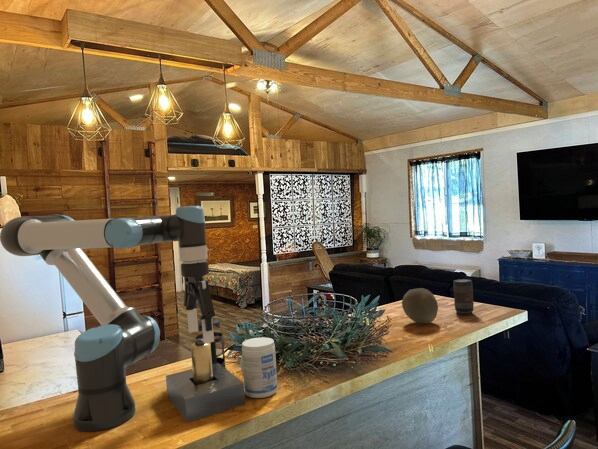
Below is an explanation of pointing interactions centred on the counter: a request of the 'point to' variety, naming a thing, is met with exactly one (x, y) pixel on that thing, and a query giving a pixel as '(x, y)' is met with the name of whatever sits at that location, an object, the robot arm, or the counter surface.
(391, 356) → the counter surface
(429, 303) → the cantaloupe
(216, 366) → the housing
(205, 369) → the end plug
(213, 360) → the french press
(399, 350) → the counter surface
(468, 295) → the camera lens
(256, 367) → the supplement tub
